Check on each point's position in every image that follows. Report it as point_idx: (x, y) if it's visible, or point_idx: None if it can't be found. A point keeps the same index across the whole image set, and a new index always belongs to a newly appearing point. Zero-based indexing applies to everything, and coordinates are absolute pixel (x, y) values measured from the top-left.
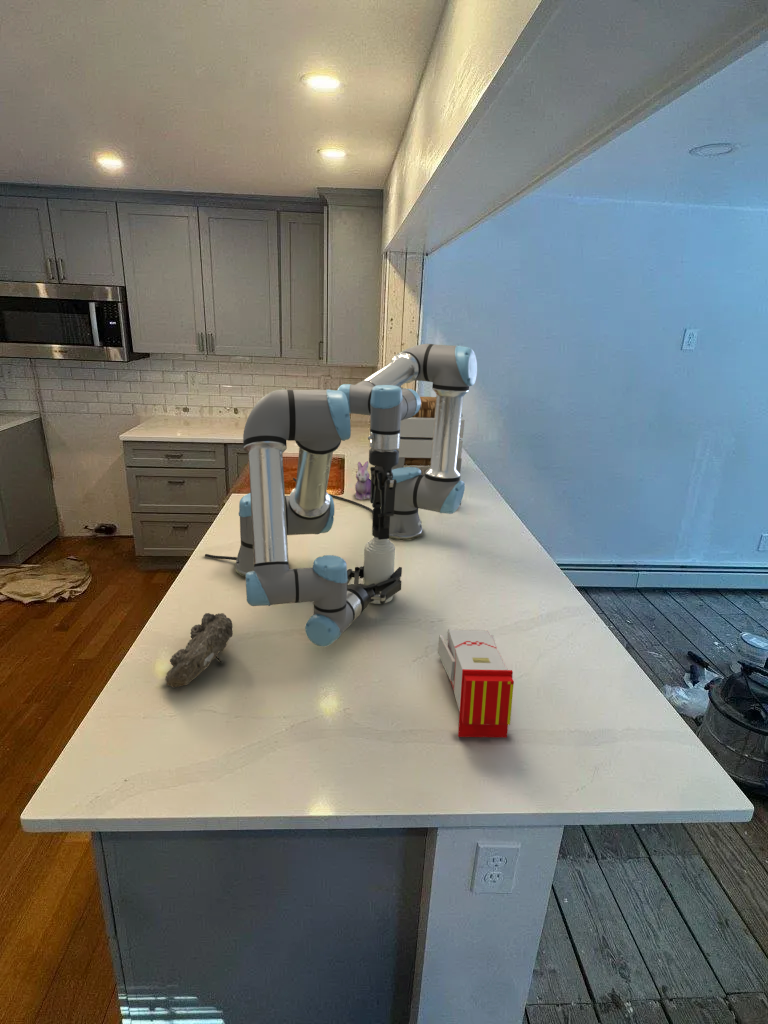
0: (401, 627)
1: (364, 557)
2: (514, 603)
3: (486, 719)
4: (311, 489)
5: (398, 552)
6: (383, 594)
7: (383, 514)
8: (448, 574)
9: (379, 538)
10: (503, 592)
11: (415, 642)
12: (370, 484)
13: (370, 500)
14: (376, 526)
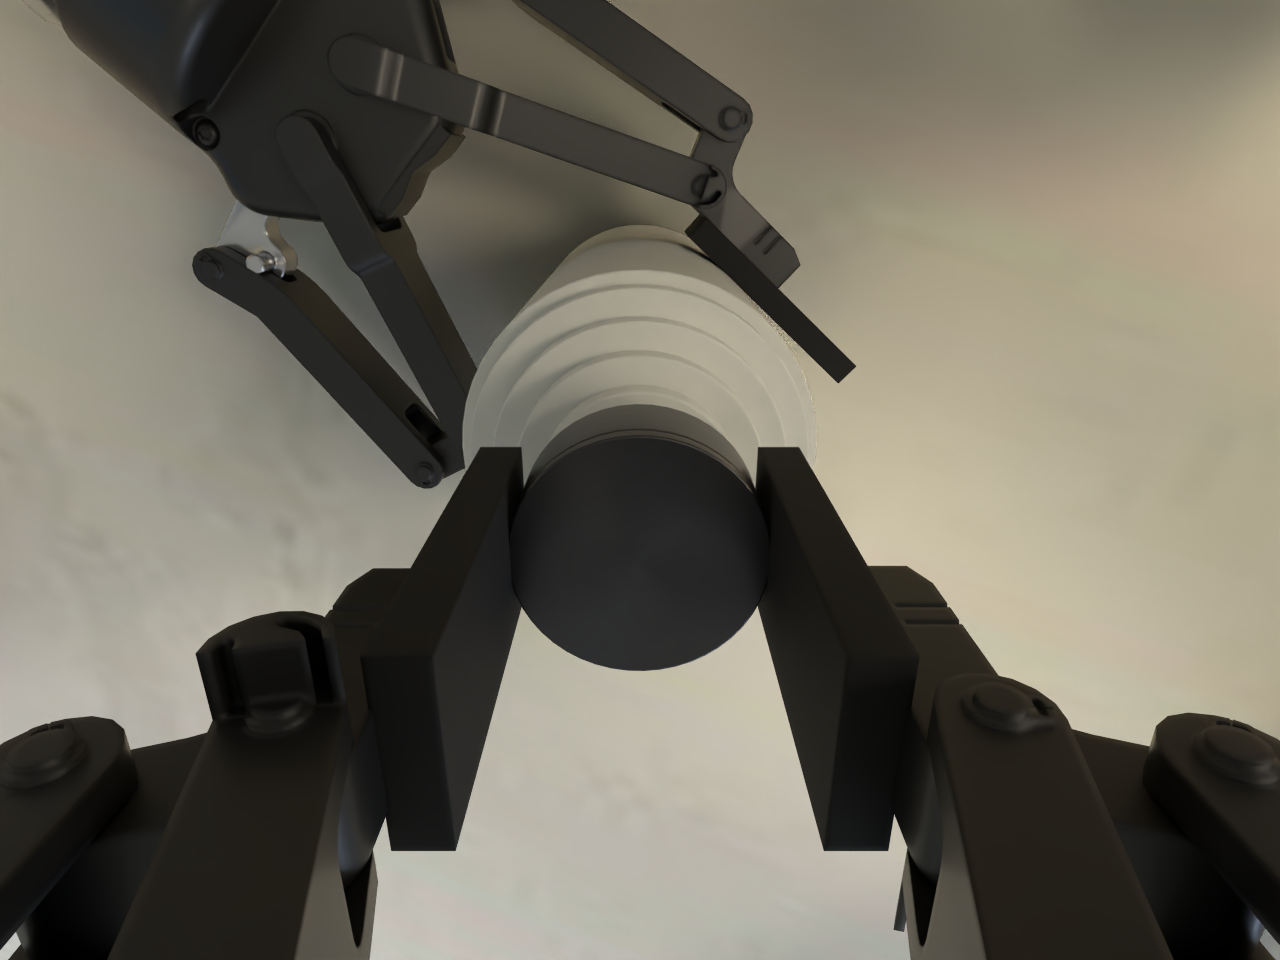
0: (237, 345)
1: (659, 257)
2: (414, 934)
3: None
4: None
5: (1186, 658)
6: (203, 272)
7: (34, 746)
8: (786, 801)
9: (478, 458)
10: (525, 938)
11: (69, 365)
12: None
13: (1251, 759)
14: (741, 527)
